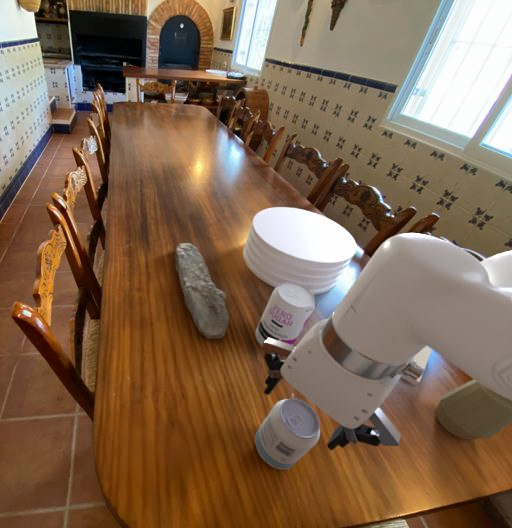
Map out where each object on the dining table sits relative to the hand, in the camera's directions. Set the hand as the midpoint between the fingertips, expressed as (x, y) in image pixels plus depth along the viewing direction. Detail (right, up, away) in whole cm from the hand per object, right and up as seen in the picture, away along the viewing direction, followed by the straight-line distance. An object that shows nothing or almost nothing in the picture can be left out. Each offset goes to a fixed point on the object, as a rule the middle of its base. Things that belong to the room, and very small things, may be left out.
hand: (299, 412), depth 43 cm
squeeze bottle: (+36, -9, +14) cm, 39 cm away
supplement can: (+6, +4, +26) cm, 27 cm away
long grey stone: (-10, +15, +37) cm, 41 cm away
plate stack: (+20, +22, +49) cm, 57 cm away
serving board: (+31, +3, +28) cm, 41 cm away
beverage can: (-1, -10, +8) cm, 13 cm away
